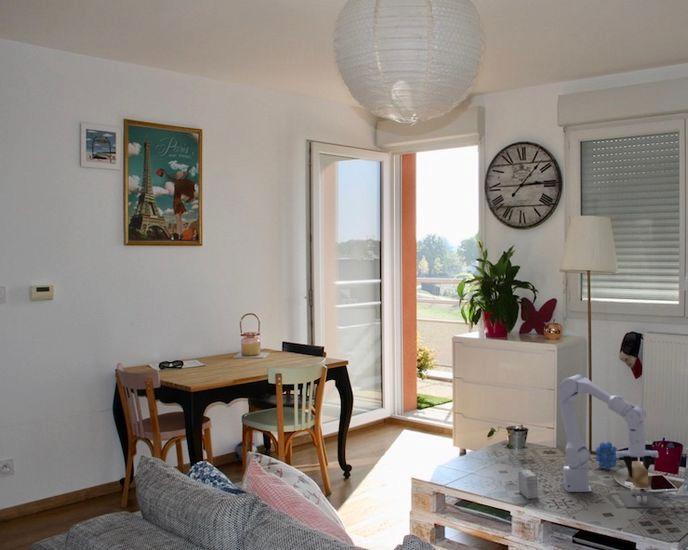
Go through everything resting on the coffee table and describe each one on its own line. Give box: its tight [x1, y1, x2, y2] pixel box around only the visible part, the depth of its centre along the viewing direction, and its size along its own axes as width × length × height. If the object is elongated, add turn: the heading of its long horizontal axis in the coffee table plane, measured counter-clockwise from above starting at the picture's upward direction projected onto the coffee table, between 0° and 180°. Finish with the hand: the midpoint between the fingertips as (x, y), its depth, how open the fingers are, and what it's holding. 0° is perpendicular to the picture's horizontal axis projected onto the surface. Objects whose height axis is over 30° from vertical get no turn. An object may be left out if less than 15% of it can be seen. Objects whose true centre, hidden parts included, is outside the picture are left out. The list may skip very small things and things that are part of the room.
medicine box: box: [518, 469, 539, 500], centre depth 282 cm, size 8×4×9 cm, turn 9°
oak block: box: [627, 460, 650, 489], centre depth 270 cm, size 4×12×6 cm, turn 172°
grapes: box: [594, 441, 620, 471], centre depth 307 cm, size 12×7×12 cm, turn 31°
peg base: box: [616, 487, 663, 509], centre depth 270 cm, size 12×16×3 cm
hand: (637, 476), depth 270 cm, fingers closed on oak block, 4 cm apart
